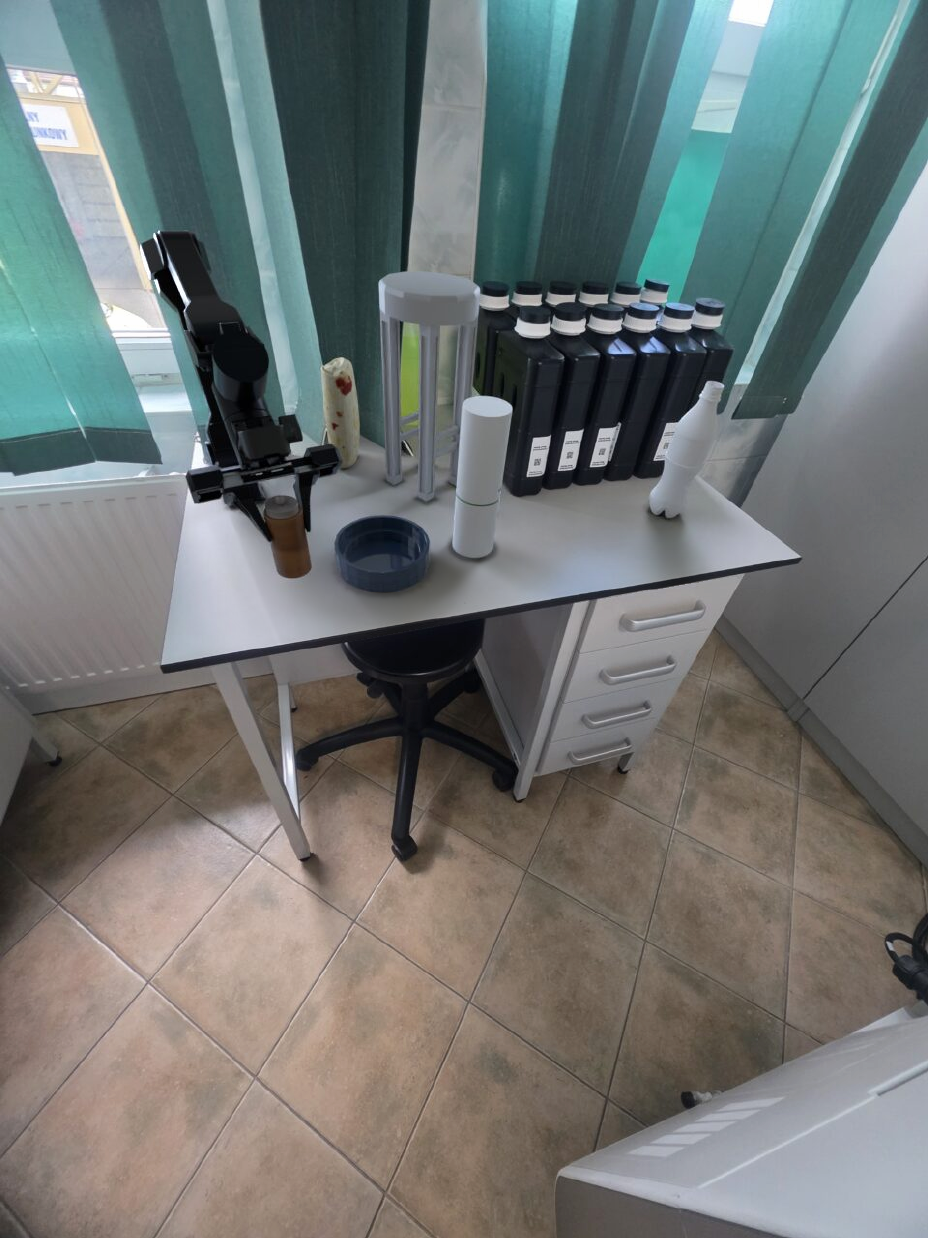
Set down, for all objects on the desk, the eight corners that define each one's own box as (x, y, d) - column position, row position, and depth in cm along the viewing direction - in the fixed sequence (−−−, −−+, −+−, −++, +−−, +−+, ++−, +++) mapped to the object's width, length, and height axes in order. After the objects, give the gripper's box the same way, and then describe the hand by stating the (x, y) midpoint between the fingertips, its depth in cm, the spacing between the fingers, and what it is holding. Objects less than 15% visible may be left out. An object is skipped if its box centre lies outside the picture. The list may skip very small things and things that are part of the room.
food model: (359, 473, 104) (350, 371, 90) (326, 471, 104) (312, 369, 90) (364, 450, 111) (357, 353, 97) (333, 449, 111) (322, 350, 97)
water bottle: (643, 514, 101) (692, 386, 84) (647, 497, 106) (695, 373, 88) (679, 524, 100) (737, 396, 82) (682, 507, 105) (737, 382, 87)
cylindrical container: (497, 541, 91) (518, 402, 74) (485, 564, 86) (504, 420, 69) (460, 531, 93) (471, 392, 75) (446, 553, 88) (455, 410, 70)
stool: (478, 483, 105) (499, 286, 80) (426, 511, 96) (431, 300, 72) (425, 456, 112) (429, 266, 87) (371, 480, 103) (359, 276, 78)
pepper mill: (280, 556, 73) (264, 484, 65) (314, 557, 73) (302, 486, 65) (273, 578, 70) (254, 505, 61) (308, 579, 70) (295, 507, 62)
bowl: (324, 549, 86) (321, 527, 83) (406, 528, 92) (406, 507, 89) (356, 605, 77) (354, 583, 74) (444, 578, 83) (446, 557, 80)
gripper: (159, 402, 54) (212, 544, 55) (329, 380, 61) (371, 505, 63) (170, 441, 64) (215, 559, 65) (315, 417, 71) (352, 524, 73)
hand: (289, 536), depth 66 cm, fingers closed on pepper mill, 5 cm apart
